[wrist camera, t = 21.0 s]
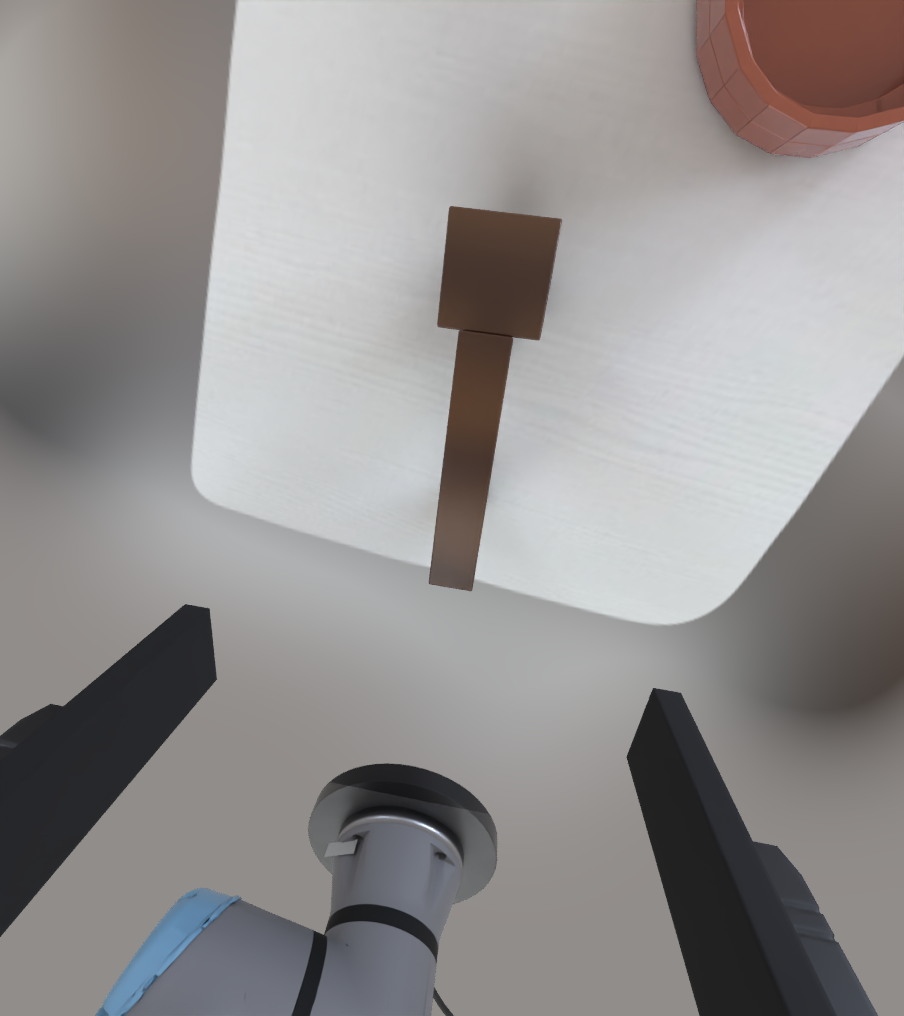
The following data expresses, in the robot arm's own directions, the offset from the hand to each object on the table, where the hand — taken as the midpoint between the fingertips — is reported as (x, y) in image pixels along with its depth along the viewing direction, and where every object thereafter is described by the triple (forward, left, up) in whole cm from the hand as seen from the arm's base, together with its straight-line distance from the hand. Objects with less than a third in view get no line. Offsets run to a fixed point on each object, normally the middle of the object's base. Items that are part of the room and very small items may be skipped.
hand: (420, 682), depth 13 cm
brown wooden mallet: (+6, 0, -23) cm, 23 cm away
